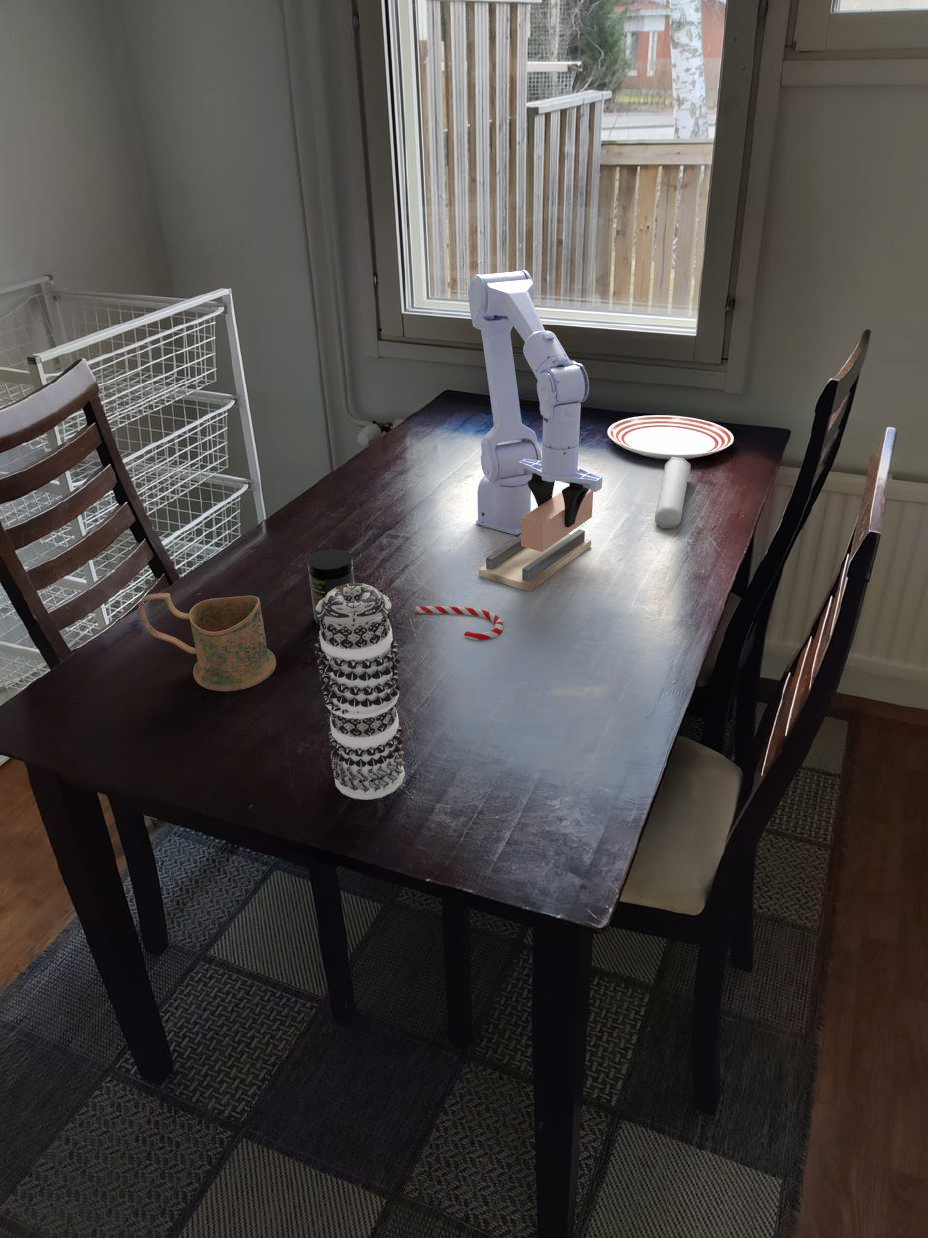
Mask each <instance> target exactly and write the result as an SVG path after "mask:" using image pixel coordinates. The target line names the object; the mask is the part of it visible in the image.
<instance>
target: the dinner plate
mask: <svg viewBox="0 0 928 1238" xmlns="http://www.w3.org/2000/svg"><path fill="white" fill-rule="evenodd" d="M607 436H608V437H609V438H610V440H611V441H613V442H614V443H615V444H616V445H618V446H620V447H622V448H623V449H625V450H628V451H630V452H632V453H636V454H638V455H641V456H644V457H647V458H653V459H659V460H668V461H669V460H670V459H671V458H672V457H676V458H683V459H685V460H690V459H691V460H692V459H695V458H696V459H697V458H700V457H704V456H710V455H712V454H715V453H719V452H720V451H724V450H725V449H727V448H728V447H730V446H731V445H733V443H734V440H735V439H734V435H733V433H732V432H731V431H730V430H728V429H727V428H726V427H723V426H721V424H720V425H719V424H717V423H715V422H711V421H708V420H703V419H698V418H694V417H688V416H681V415H680V416H679V415H661V414H660V415H659V414H658V415H657V414H656V415H655V414H654V415H642V416H633V417H628V418H625V419H624V418H623V419H621V420H618V421H617V422H614V423H612V424H611V425H610V426H609V427H608V429H607Z"/></svg>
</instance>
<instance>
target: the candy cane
mask: <svg viewBox="0 0 928 1238" xmlns="http://www.w3.org/2000/svg"><path fill="white" fill-rule="evenodd" d="M414 609H415V610H414V613H415V614H441V615H442V614H445V615H446V614H449V615H450V614H451V615H464V616H465V615H467V616H474V617H479V618H483V619H487V620H488V621H491V623H493V626H494V628H493V629H491V630H489V631H486V632H481V633H479V632H471V631H465V632H464V634H463V637H464V638H465V639H468V640H469V639H470V640H474V641H485V640H491V639H493V638H496V637H498V636H499V635H501V634H502V632H503V630H504V623H503V620H502V619H501V618H500V616H498V615H496V614H495V613H494V612H490V611H488V610H485V609H479V608H475V607H465V606H464V607H463V606H448V605H447V606H443V605H442V606H441V605H439V606H438V605H435V606H434V605H424V606H423V605H421V606H416V607H415V608H414Z"/></svg>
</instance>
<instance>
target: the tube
mask: <svg viewBox="0 0 928 1238" xmlns="http://www.w3.org/2000/svg"><path fill="white" fill-rule="evenodd" d="M691 467H692V465H691V463H690V462H688V461H687V459H683V458H676V457H672V458H671V459H670V460H668V461H667V462H666V463H665V464H664V470H663V471H664V472H663V478H662V481H661V486H660V490H659V494H658V499H657V500H658V501H657V502H656V503H657V505H656V509H655V511H654V512H655V515H654V522H655V523H656V524H657V525H659V527H661V528H662V529H675V528H676V527H677V526H678V525H679V524H680V523H681V521H682V515H683V508H684V503H685V497H686V493H687V492H686V491H687V486H688V480H689V477H690V475H691Z"/></svg>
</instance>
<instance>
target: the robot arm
mask: <svg viewBox="0 0 928 1238" xmlns="http://www.w3.org/2000/svg"><path fill="white" fill-rule="evenodd" d="M467 297H468V304H469V311H470V319H471V322H472V323H471V324H472V327H474V328H475V329H477V330H480V333H481V341H482V346H483V352H484V360H485V368H486V375H487V382H488V391H489V397H490V398H489V399H490V405H491V406H490V407H491V413H492V419H493V421H492V422H493V427H492V428H491V429H490V430H489V431H488V432H487V433H486V434H485V435H484V437H482V439H481V442H480V448H481V453H480V454H481V455H480V464H481V465H480V466H481V469H482V473H483V476H482V477H481V479H480V481H479V483H478V486H477V520H475V525H478V526H482V527H486V528H488V529H489V528H490V529H493V530H496V531H499V532H503V533H506V534H507V533H508V534H510V535H514V536H520V535H521V518H522V517H523V516H525V515H526V514H528V513H529V512H531V511H532V510H531V509H532V508H531V505H532V499H531V497H532V495H533V497H534V499H535V502H536V505H537V507H539V506H540V505H542V504H544V503H545V502H547V501H548V500H550V499H551V498H553V496H554V495H553V493H554V488H555V487H554V486H555V482H561V483H564V484H569V485H568V486H566V487H565V488H563V489H562V490H561V492H562V495H563V499H564V505H565V518H564V520H565V527H568V528H569V527H570V526H572V525H573V524H575V520H576V516H577V513H578V510H579V507H580V505H581V503H582V501H583V499H584V497H585V495H586V494H587V492H588V490H589V489H590V490H591V491H593V493H597V492H599V491H600V490H601V489H602V488H603V476H600V475H596V474H594V473H592V472H590V471H588V470H585V469H583V468H581V467H579V448H580V444H579V443H580V427H581V425H580V424H581V423H580V422H581V408H582V407H581V403H584V402H585V401H586V400H587V398H588V396H589V391H590V382H589V376H588V373H587V371H586V369H585V368H586V367H585V366H584V365H583V364H582V363H580V362H579V363H578V362H576V360H571V359H570V358H569V356H568V355H567V352H566V351H565V349H564V347H563V346H562V344H561V343H560V340H559V339H558V338H557V335H556V334H555V333H554V332H553V331H550V330H545V327H544V325H543V323H542V321H541V318H540V316H539V313H538V311H537V309H536V306H535V305H534V302H535V285H534V281H533V278H532V275H530V273H529V272H528V271H527V270H525V269H522V270H521V269H520V270H519V271H517V270H516V271H511V272H510V271H509V272H500V273H499V272H498V273H487V274H474V275H473V276H472V278H471V280H470V282H469V287H468V291H467ZM513 327H514V329H515V330H516V331H517V333H518V334H519V335H520V337H521V339H522V340H523V341H524V345H523V347H522V352H523V353H522V354H523V356H524V358H525V360H526V361H527V364H528V365H529V367H530V368H531V370H532V372H533V374H534V376H535V378H536V380H537V383H536V390H537V396H538V400H539V411H540V415H541V416H542V447H541V448H540V445H539V443H538V438H537V435H536V432H535V431H534V430H533V429H531V428H530V427H528V426H526V425H525V424H523V423H522V415H521V408H520V400H519V390H518V384H517V377H516V370H515V361H514V354H513V353H514V352H513V345H512V337H511V331H512V330H513ZM514 440H515V441H516V440H519V441H516V442H509V441H514ZM504 442H509V443H504ZM500 443H502V444H500Z"/></svg>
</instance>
